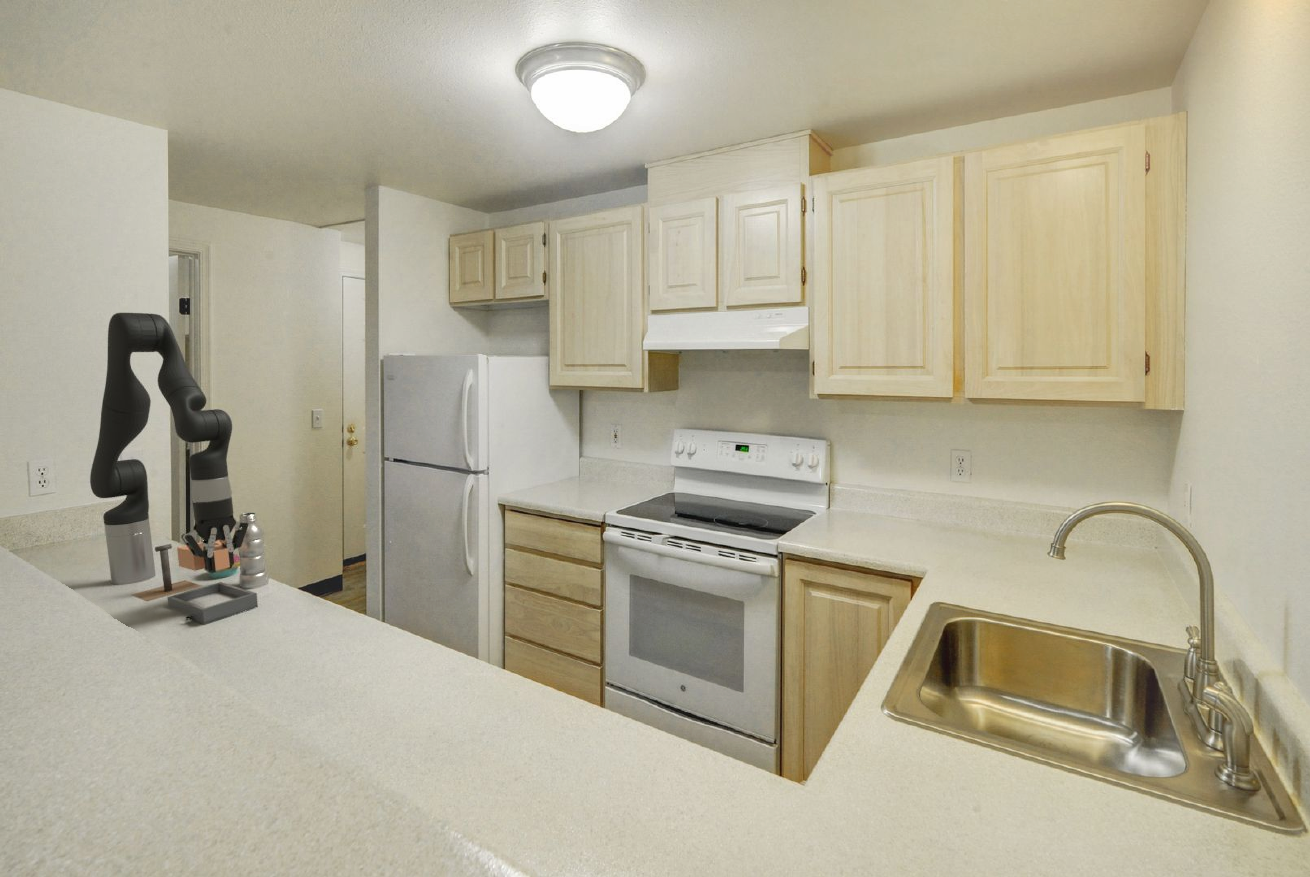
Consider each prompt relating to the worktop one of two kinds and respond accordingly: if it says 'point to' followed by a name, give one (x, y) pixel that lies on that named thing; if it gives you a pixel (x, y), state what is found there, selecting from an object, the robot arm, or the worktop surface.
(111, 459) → the robot arm
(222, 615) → the tray
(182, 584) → the stake stand
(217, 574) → the cupcake
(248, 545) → the plastic bottle
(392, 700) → the worktop surface
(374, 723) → the worktop surface
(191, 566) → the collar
